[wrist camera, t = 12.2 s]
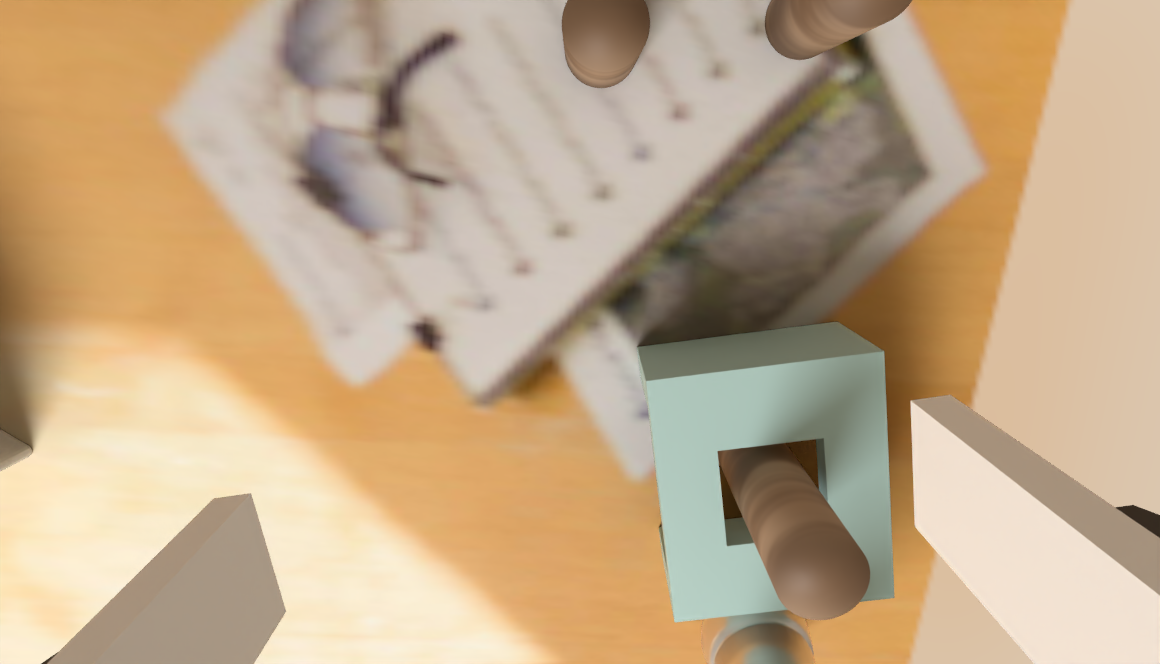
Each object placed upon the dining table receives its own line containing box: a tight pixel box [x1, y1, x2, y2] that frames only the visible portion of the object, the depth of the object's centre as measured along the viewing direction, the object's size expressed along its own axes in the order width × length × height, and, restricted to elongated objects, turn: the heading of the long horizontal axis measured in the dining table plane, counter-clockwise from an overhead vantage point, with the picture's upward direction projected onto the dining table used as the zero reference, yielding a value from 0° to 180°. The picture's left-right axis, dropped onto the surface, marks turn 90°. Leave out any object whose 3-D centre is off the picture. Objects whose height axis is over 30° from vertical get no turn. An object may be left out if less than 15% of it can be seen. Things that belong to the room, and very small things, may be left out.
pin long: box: [718, 443, 870, 620], centre depth 37 cm, size 4×4×15 cm
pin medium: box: [765, 0, 912, 60], centre depth 34 cm, size 4×4×10 cm
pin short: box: [562, 0, 650, 88], centre depth 36 cm, size 4×4×7 cm
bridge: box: [637, 322, 894, 622], centre depth 41 cm, size 14×12×7 cm
